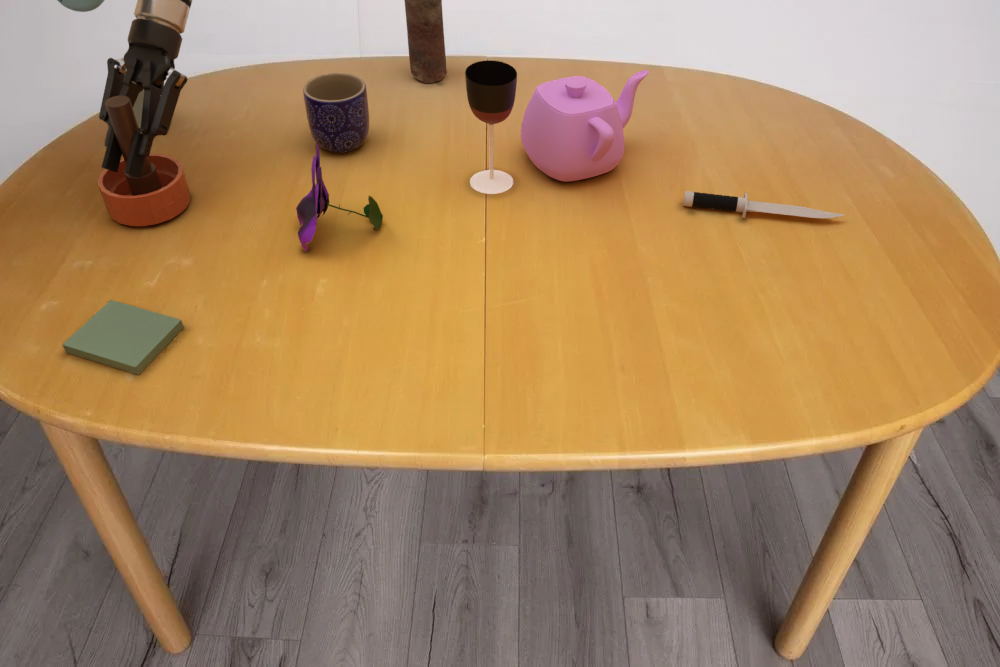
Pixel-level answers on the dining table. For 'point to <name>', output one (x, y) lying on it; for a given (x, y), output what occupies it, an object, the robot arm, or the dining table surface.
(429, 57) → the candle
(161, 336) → the board
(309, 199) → the flower
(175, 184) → the bowl
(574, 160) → the teapot
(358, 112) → the planter
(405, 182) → the dining table surface
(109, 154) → the robot arm
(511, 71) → the wineglass
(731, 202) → the knife
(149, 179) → the pestle
